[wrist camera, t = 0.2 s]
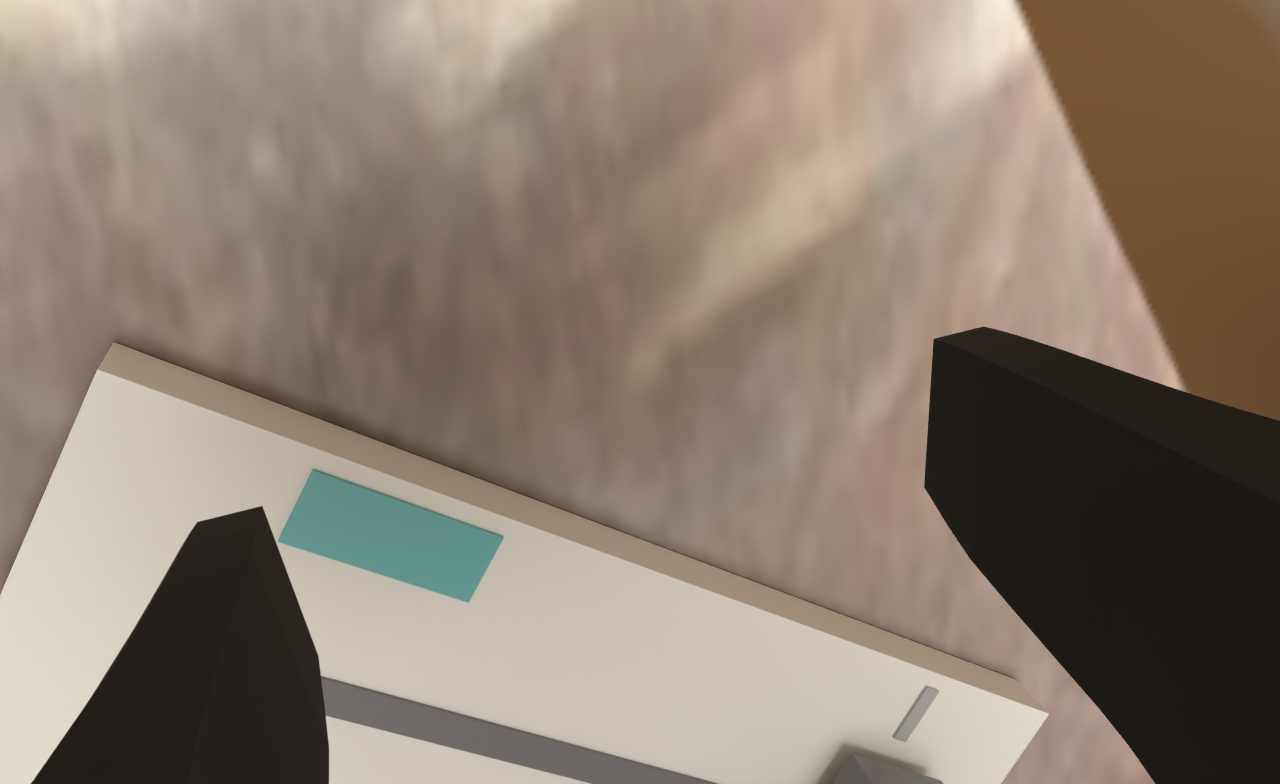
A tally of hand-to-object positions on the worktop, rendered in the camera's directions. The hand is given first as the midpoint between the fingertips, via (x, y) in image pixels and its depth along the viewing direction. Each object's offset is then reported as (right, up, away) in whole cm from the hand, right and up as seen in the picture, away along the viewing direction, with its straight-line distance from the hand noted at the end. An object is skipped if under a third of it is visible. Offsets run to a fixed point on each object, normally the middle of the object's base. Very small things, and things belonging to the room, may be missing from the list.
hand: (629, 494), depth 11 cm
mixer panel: (-2, -7, +14) cm, 16 cm away
